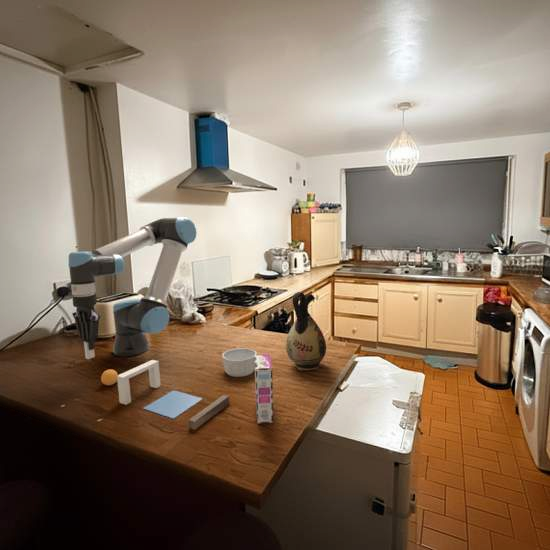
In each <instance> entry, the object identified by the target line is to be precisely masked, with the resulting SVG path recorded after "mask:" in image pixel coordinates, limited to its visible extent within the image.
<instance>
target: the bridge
mask: <svg viewBox="0 0 550 550" xmlns="http://www.w3.org/2000/svg"><path fill="white" fill-rule="evenodd" d="M159 362H160V361H159V360H155V359H150V360H148V361H146V362H145V363H142V364H140V365H138V366H136V367H133V368H130V369H129V370H127V371H124V372H122V373H120V374H118V376H117V381H116V383H117V391H118V400H119V404H122V405H124V406H125V405H126V406H127V405H128V404H130V403H132V397H131V386H130V379H131V378H133V377H135V376H138V375H139V374H141V373H145V372H146V371H148V378H149V387H150V388H154V389H157V388H159V387H161V385H162V384H161V375H160V364H159Z"/></svg>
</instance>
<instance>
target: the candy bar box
mask: <svg viewBox="0 0 550 550" xmlns="http://www.w3.org/2000/svg"><path fill="white" fill-rule="evenodd" d="M273 378H274V377H273V366H272V360H271V355H270V354H257V355H255V370H254V380H255V381H254V385H255V387H254V389H255V390H254V391H255V413H256V423H257V424H258V425H261V424H272V423H273V424H274V392H273V391H274V386H273V384H274V383H273Z"/></svg>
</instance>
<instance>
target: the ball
mask: <svg viewBox="0 0 550 550" xmlns="http://www.w3.org/2000/svg"><path fill="white" fill-rule="evenodd" d="M118 375H119V374H118V372H117V370H114V369H111V368H110V369H107V370H105V371H104V372H103V373H102V374H101V377H100V380H101V382H102V384H103V385H105V386H112V385H114V384H116V383H117V376H118Z"/></svg>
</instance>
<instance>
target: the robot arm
mask: <svg viewBox="0 0 550 550" xmlns="http://www.w3.org/2000/svg"><path fill="white" fill-rule="evenodd" d="M196 238H197V228H196V225H195V223H194V221H193V220H192V219H190V218H187V217H182V216H181V217H180V216H179V217H163V218H159V219H156V220H154V221H152V222H149V223H148V224H146V225H143V226H141V227H140V228H139V230H137V231H135V232H133V233H130V234H128V235H126V236H123V237H121V238H119V239H116V240H114V241H113V242H110V243H108V244H106V245H102V246H101V247H98V248H96V249H94V250H91V251H72V252H70V253H69V255H68V267H69V269H68V271H69V276H70V286H71V287H70V290H71V295H72V298H71V299H72V306H73V307H74V308H76V309H75V310H76V311H75V312H72V314H71V315H72V317H73V319H74V322H75V327H76V330H77V335H78V338H79V339H81V340H82V341H83V347H84V356H85V359H86V360H90V359H92V358H95V357H96V355H95V340H97V339H98V337H99V324H100V318H101V315H100V314H97V313H96V309H95V305H96V304H97V303H98V302H97V295H96V293H97V290H96V281H95V277H96V278H97V277H100V276H101V277H103V276H110V275H116V274H117V275H118V274H121V273H122V272H123V271H124V269H125V260H124V257H127V256H128V255H131V254H132V253H134V252H137V251H139V250H140V249H143V248H145V247H146V246H148V247H151V246H154V245H156V244H162V249H161V251H160V255H159V257H158V260H157V263H156V265H155V269H154V272H153V275H152V277H151V280H150V283H149V285H148V289H147V292H146V293H145V296H143V297H141V298H136V299H128V300H124V301H123V300H122V301H119V302H116V303H114V304H113V306H112V308H113V309H112V311H113V312H112V313H113V319H114V328H115V329H114V330H115V331H114V332H115V339H114V343H113V347H112V352H113V353H114V354H115V356H116V355H117V356H118V357H130V356H136V355H140V354H143V353H145V352H147V351H148V350H149V349H150V344H149V341H148V338H147V336H146V334H148V335H149V334H151V335H152V334H155V335H156V334H159V333H160V332H161V333H162V332H163V331H164V330H165V329H166V328H167V326H168V324H169V323H170V322H169V321H170V315H169V314H170V313H169V311H168V305H169V304H168V303H167V298H168V295H169V292H170V290H171V286H172V285H173V284H172V283H173V281H174V278H175V274H176V272H177V271H176V270H177V268H178V265H179V262H180V259H181V256H182V252H183V253H184V251H186V250H187V249H188V247H189V246H188V245H189V244H191V243H193V242H194V241H195V240H196ZM114 354H113V355H114Z"/></svg>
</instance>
